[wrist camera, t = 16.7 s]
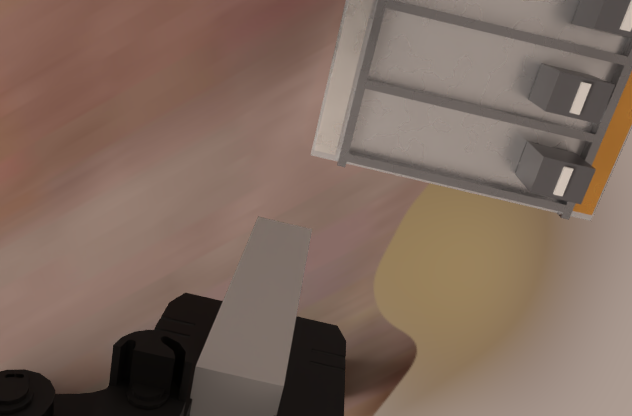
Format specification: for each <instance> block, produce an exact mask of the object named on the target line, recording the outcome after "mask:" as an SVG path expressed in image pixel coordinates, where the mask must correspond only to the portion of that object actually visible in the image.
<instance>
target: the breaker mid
mask: <svg viewBox="0 0 632 416" xmlns="http://www.w3.org/2000/svg"><path fill="white" fill-rule="evenodd" d="M614 86H615V84H612V83H610V82H607V81H605V80H602V79H600V78H597V77H595V76H592V75H588V74H584V73H580V72H576V71H572V70H567V69H563V68H559V67H555V66H551V65H547V64H542V63H541V66H540V68H539V71H538V74H537V77H536V79H535V82H534V85H533V88H532V90H531V93H530V96H529V99H528V100H529V101H531V102H532V103H534V104H535V105H537V106H538V107H540V108H541V109H542V110H544V111H546V112H550V113H554V114H558V115H563V116H567V117H571V118H575V119H579V120H584V121H588V122H592V123H596V124H599V122H600V120H601V118H602V115H603V113H604V110H605V108H606V106H607V103H608V101H609V98H610V96H611V94H612V91H613V89H614Z"/></svg>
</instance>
